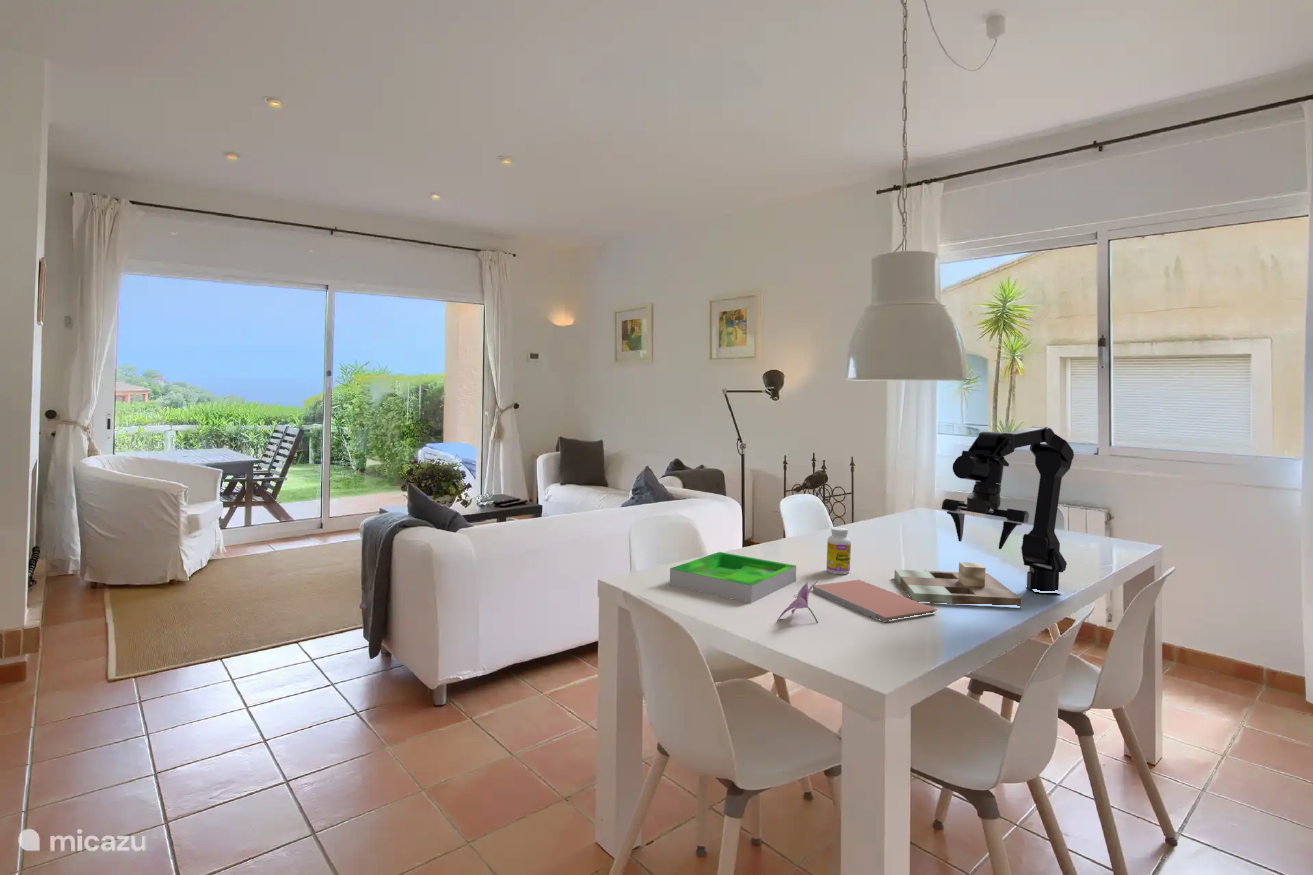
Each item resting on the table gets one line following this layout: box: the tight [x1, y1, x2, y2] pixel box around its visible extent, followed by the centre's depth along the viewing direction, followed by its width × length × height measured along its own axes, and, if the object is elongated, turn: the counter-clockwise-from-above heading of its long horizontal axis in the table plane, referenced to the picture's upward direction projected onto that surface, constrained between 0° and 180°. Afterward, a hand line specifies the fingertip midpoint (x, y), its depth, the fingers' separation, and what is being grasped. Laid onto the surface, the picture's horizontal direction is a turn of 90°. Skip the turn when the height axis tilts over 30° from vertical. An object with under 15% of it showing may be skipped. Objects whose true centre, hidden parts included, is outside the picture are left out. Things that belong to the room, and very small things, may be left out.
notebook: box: [812, 579, 938, 622], centre depth 168 cm, size 27×17×2 cm, turn 24°
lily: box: [777, 580, 820, 624], centre depth 154 cm, size 12×12×10 cm
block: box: [958, 561, 986, 587], centre depth 176 cm, size 5×5×5 cm
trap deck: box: [894, 568, 1022, 607], centre depth 177 cm, size 25×23×2 cm
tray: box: [669, 551, 797, 604], centre depth 183 cm, size 25×25×5 cm
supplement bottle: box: [826, 526, 852, 575], centre depth 195 cm, size 7×7×13 cm
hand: (979, 545), depth 165 cm, fingers open, 9 cm apart
